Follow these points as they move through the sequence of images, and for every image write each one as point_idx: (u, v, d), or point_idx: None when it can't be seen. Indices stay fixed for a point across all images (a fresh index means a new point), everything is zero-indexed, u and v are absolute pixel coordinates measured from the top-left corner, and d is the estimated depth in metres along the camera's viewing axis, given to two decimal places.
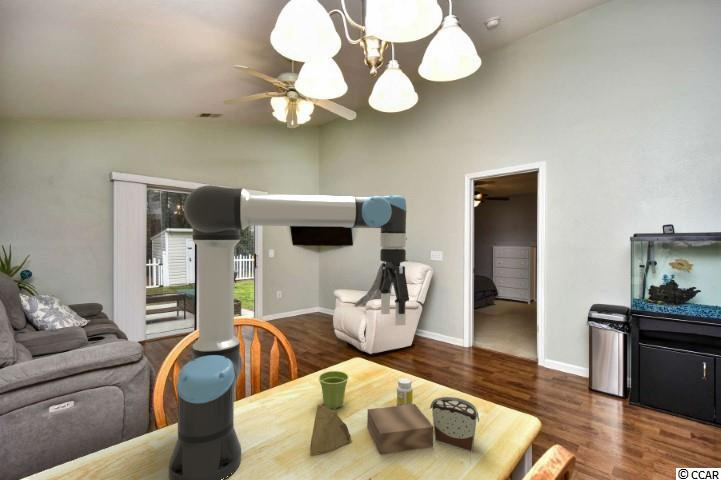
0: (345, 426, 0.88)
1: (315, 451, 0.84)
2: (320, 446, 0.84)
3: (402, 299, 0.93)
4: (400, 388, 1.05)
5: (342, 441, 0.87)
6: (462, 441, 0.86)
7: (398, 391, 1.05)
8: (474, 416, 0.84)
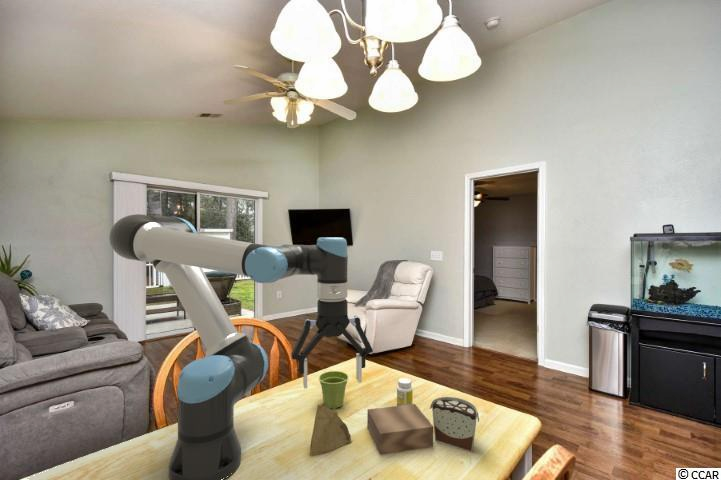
0: (345, 426, 0.88)
1: (315, 451, 0.84)
2: (320, 446, 0.84)
3: (291, 354, 0.85)
4: (400, 388, 1.05)
5: (342, 441, 0.87)
6: (462, 441, 0.86)
7: (398, 391, 1.05)
8: (474, 416, 0.84)
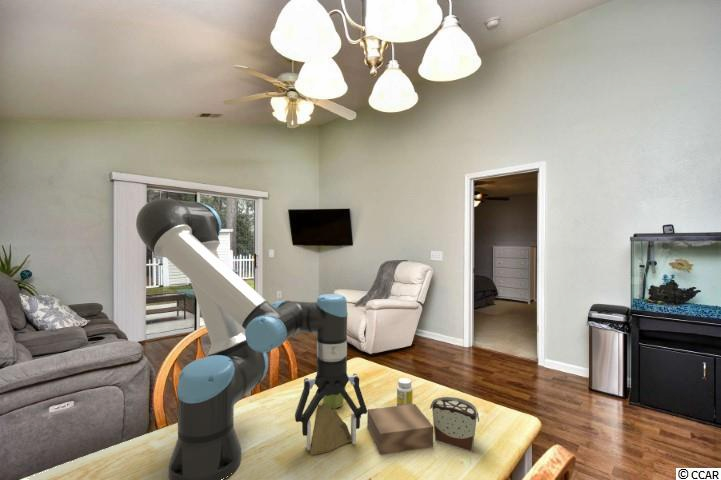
0: (345, 426, 0.88)
1: (315, 451, 0.84)
2: (320, 446, 0.84)
3: (295, 416, 0.85)
4: (400, 388, 1.05)
5: (342, 441, 0.87)
6: (462, 441, 0.86)
7: (398, 391, 1.05)
8: (474, 416, 0.84)
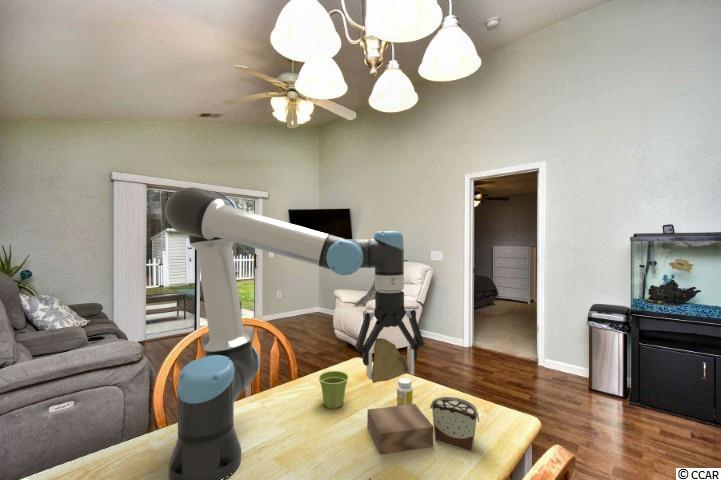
0: (403, 358, 0.92)
1: (377, 379, 0.87)
2: (381, 374, 0.87)
3: (356, 347, 0.89)
4: (400, 388, 1.05)
5: (401, 372, 0.90)
6: (462, 441, 0.86)
7: (398, 391, 1.05)
8: (474, 416, 0.84)
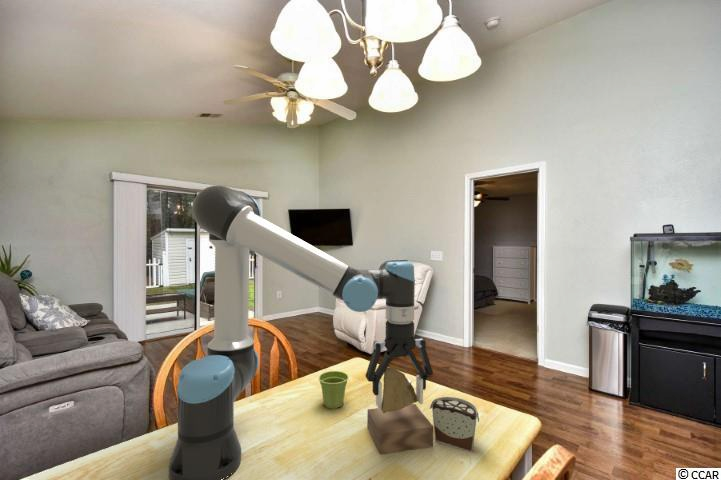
0: (412, 387, 0.93)
1: (387, 409, 0.88)
2: (391, 404, 0.88)
3: (366, 376, 0.89)
4: None
5: (410, 401, 0.91)
6: (462, 441, 0.86)
7: None
8: (474, 416, 0.84)
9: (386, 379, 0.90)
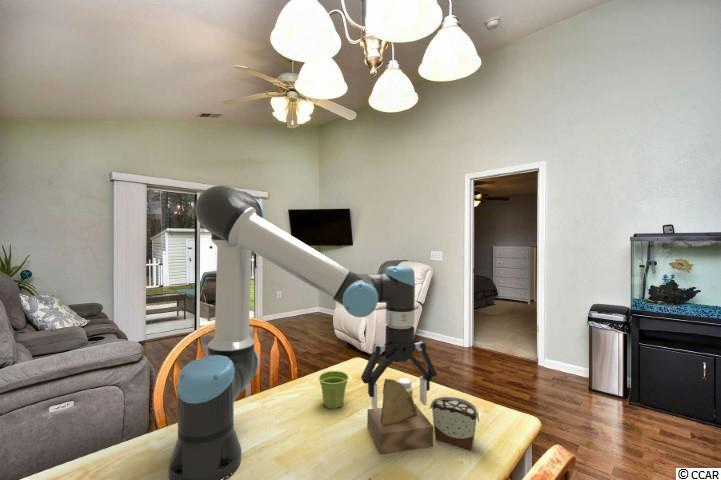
0: (411, 399, 0.93)
1: (386, 421, 0.88)
2: (390, 417, 0.88)
3: (361, 378, 0.89)
4: None
5: (409, 413, 0.92)
6: (462, 441, 0.86)
7: None
8: (474, 416, 0.84)
9: (386, 391, 0.90)
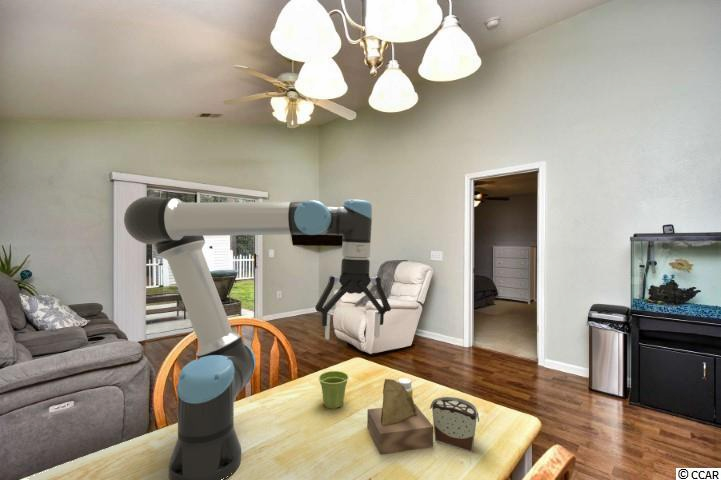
0: (411, 399, 0.93)
1: (386, 421, 0.88)
2: (390, 417, 0.88)
3: (315, 308, 0.91)
4: None
5: (409, 413, 0.92)
6: (462, 441, 0.86)
7: None
8: (474, 416, 0.84)
9: (386, 391, 0.90)
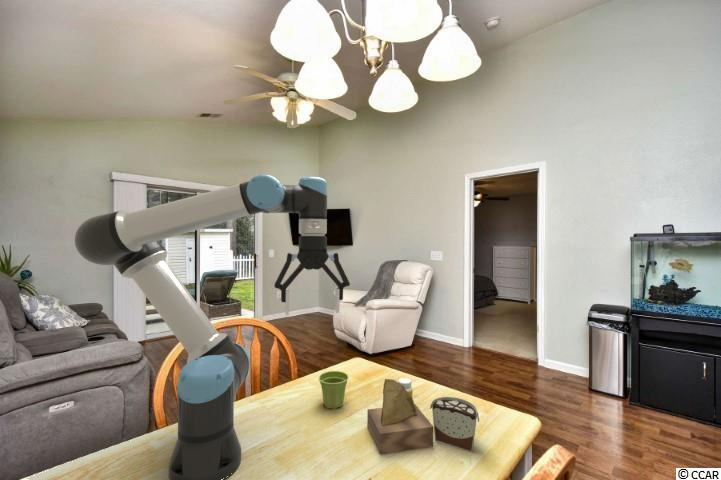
0: (411, 399, 0.93)
1: (386, 421, 0.88)
2: (390, 417, 0.88)
3: (274, 285, 0.92)
4: None
5: (409, 413, 0.92)
6: (462, 441, 0.86)
7: None
8: (474, 416, 0.84)
9: (386, 391, 0.90)
